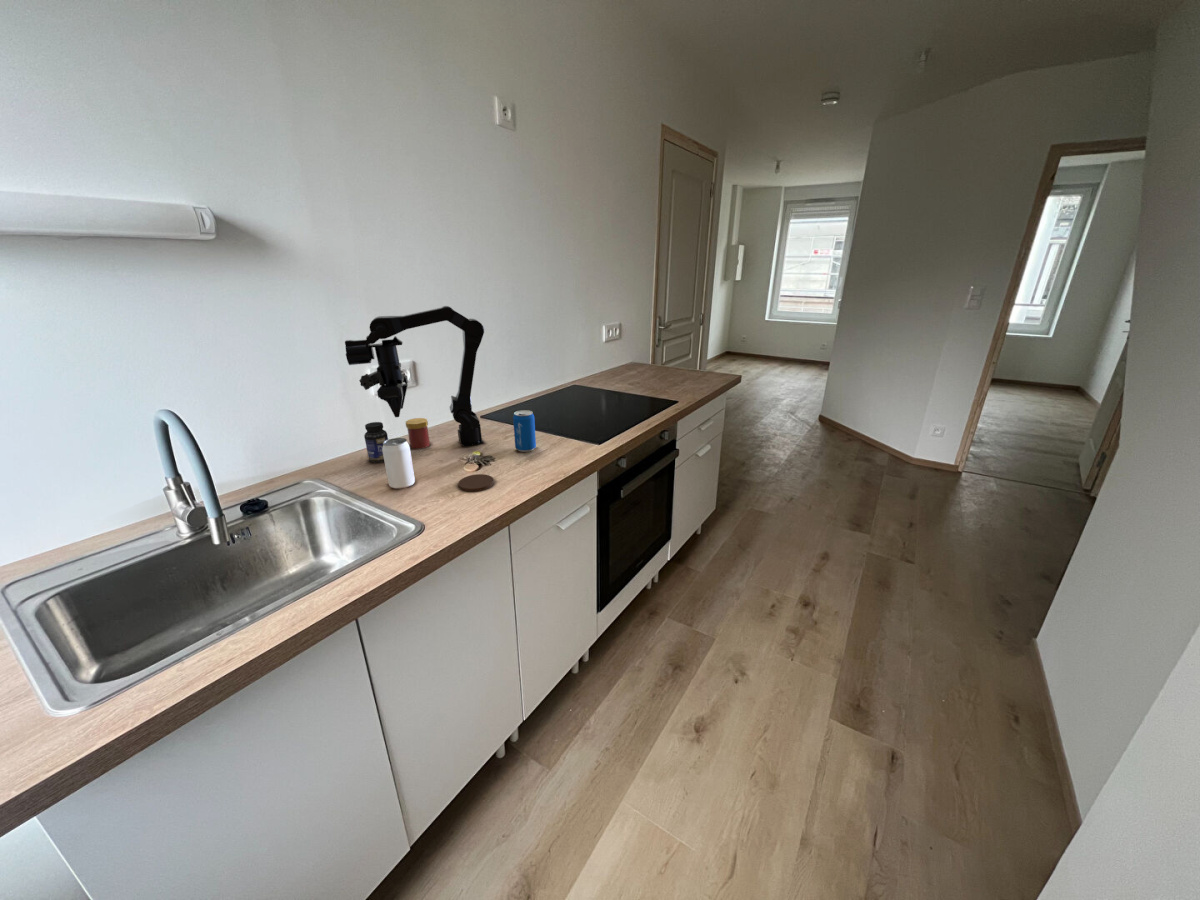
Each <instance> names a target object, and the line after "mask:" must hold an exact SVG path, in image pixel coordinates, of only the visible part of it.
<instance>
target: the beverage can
mask: <svg viewBox="0 0 1200 900" xmlns="http://www.w3.org/2000/svg"><path fill="white" fill-rule="evenodd" d="M512 421H513V434H514V448H515V449H516V450H517V451H518V452H521V453H528V452H533V451H534V449H536V448H537V441H536V422H535V415H534V413H533V411H532V410H529V409H526V410H525V409H523V410H522V409H521V410H517V411H515V412H514V413H513V416H512Z"/></svg>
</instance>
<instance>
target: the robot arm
mask: <svg viewBox="0 0 1200 900" xmlns="http://www.w3.org/2000/svg"><path fill="white" fill-rule="evenodd" d="M441 322H448V323H450V324H452V325H454V327H457V328H458V329H460V330H461V331H462V345H463V350H462V351H463V352H462V360H461V365H460V374H459V382H458V389H457V393H456V395H455V396H454V395H451V396H450V400H451V402H450V406H449V411H450V413H451V414H452V419H453V420H454V421H455V422H456V423H458V429H457V437H458V442H459V443H460V444H461V445H462V446H463V447H464V448H465V447H470V446H476V445H482V444H484V440H483V438H482V437H483V436H482V428H481V422H480V419H479V416H478V414H477V413H476V412H474V411H473V409H472V408H473V406H472V397H471V395H472V389H473V388H472V387H473V382H474V374H475V366H476V361H477V353H478V350H479V347H480V345H481V343H482V340H483V337H484V334H485V327H484V325H483V324H482V323H481V322H480V321H479V320H477V319H475V318H468V317H466V316H464V315H463V314H461V313H459V312H457V311H456V310H454V308H452V307H451V306H449V305H443V306H441V307H438V308H433V309H432V308H431V309H429V310H423V311H418V312H414V313H410V314H405V315H381V316H380V315H379V316H376V317H375V318H373V319H372V320H371V321H370V324H369V331H370V332H369V334H368V335H367V336H366V337H365V339H356V340H355V339H354V340H353V339H346V340H345V341H344V345H345V357H346V361H347V364H348V365H349V366H356V365H366V364H372V360H375V357H376V361H377V368H376V370H375V371H374V372H371V373H369V374H368V373H365V374H364V375H361V376H360V379H359V383H360V384H359V385H360V386H361V387H363V389H364V390H365V391H367V390H369V389H370V388H372V387H374V386H377V385H378V384H379V388H378V389H377V390H376V393H377V397H378V398H379V399H380V400H382V401H384V402H386V403H387V404H388V407H389V408H390V410H391V412H392V414H393V416H394V417H395V418H399V417H400V415H401V410H402V409H404V404H405V400H406V399H405V398H406V395H407V390H408V386H409V384H408V383H409V378H408V376H407V375H406V374H405V373H402V369H401V367H402V362H400V359H399V353H398V349H397V346H403V341H402V340H401V339H399V338H398V337H397V336H395V335H398V334H400V333H402V332H404V331H407V330H410V329H414V328H420V327H423V326H427V325H432V324H433V325H434V324H436V323H441ZM393 336H394V337H393ZM391 337H393V338H392V339H391ZM388 338H390V339H388ZM379 340H381V342H379V343H376V342H378V341H379Z"/></svg>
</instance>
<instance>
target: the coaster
mask: <svg viewBox="0 0 1200 900" xmlns="http://www.w3.org/2000/svg"><path fill="white" fill-rule="evenodd" d="M494 479H495V478H494V477H492V476H491V475H489V474H484V473H478V474H471V475H467V476H465V477H462V478H461V479H460V480H459V481H458V484H457V485H458V488H459V489H460V490H461V491H465V492H470V493H471V492H472V493H473V492H480V491H485V490H487V489H490V488H491V487H492V486H493V485H494V484H495V480H494Z"/></svg>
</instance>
